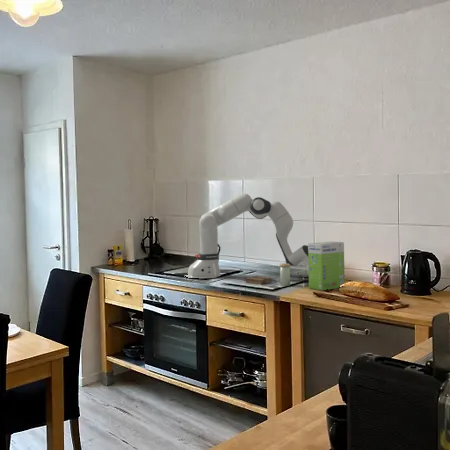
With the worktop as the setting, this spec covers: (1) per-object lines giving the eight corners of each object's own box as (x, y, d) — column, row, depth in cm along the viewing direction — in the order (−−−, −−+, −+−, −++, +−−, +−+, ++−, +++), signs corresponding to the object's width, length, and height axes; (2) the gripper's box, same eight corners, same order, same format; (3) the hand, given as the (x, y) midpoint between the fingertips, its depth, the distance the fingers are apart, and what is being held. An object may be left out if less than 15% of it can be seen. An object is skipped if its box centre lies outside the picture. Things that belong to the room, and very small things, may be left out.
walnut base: (260, 284, 287) (260, 280, 286) (246, 282, 293) (246, 278, 293) (270, 282, 294) (270, 277, 294) (256, 280, 301) (256, 276, 301)
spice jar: (282, 286, 280) (282, 265, 279) (278, 284, 286) (277, 263, 285) (292, 285, 282) (292, 264, 281) (287, 283, 288) (287, 263, 287)
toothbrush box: (330, 284, 283) (330, 240, 281) (345, 287, 274) (345, 242, 273) (307, 288, 272) (307, 243, 271) (322, 291, 264) (322, 244, 262)
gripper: (289, 262, 305) (275, 265, 295) (319, 265, 292) (306, 268, 282) (289, 272, 306) (276, 275, 295) (319, 276, 293) (306, 279, 282)
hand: (291, 272), depth 288 cm, fingers open, 8 cm apart
